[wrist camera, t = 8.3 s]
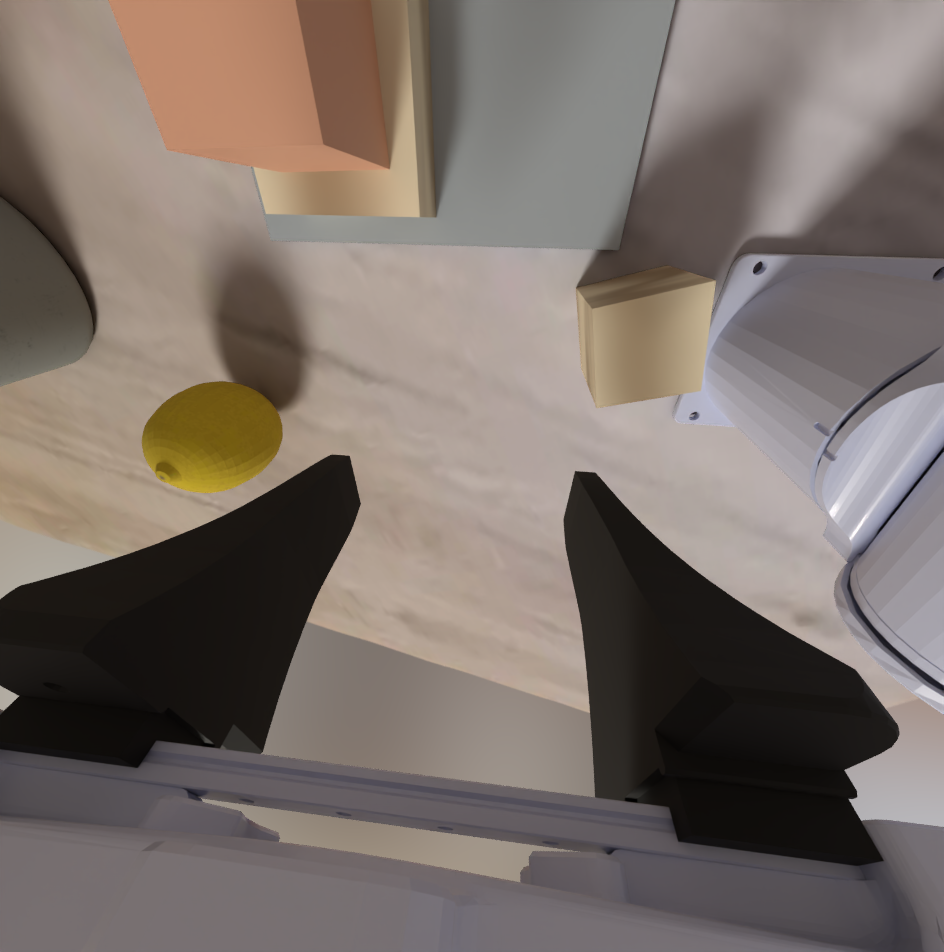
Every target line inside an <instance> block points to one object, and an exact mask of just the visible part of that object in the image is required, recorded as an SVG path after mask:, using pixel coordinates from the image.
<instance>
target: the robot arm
mask: <svg viewBox="0 0 944 952" xmlns="http://www.w3.org/2000/svg"><path fill="white" fill-rule="evenodd" d="M760 261H761V262H762V267H761V269H760V270H759V271H758V272H757V273H755V274H754V273H753V268H754V266H755V265H756V264H757V263H758V262H760ZM940 268H941V271H940V273H939V274H938V275H937V276H936V277H934V278H933V275H934V273H935V272H936V271H937V270H938V269H940ZM693 412H697V414H696V415H695V416H693V417H689V416H690V414H691V413H693ZM673 418H674V419H675V420H676V421H677V422H678V423H685V424H699V425H714V426H729V427H737V428H738V429H739V430H740V431H741V432H742V433H743V434H744V435H745V436H746V437H747V438H748V439H749V440H750V441H751V442H752V443H753V444H754V445H755V446H756V447H757V448H758V449H759V450H760V451H761V452H762V453H763V454H764V455H765V456H766V457H767V458H769V459H770V460H771V461H772V462H773V463H774V464H775V465H776V466H777V467H778V468H779V469H780V470H781V471H782V472H783V473H784V474H785V475H786V476H787V477H788V478H789V479H790V480H791V481H792V482H793V483H794V484H795V485H796V486H797V487H798V488H799V489H800V490H801V491H802V492H803V493H804V494H805V495H806V496H807V497H809V498H810V499H811V500H812V501H813V502H814V503H815V504H816V505H817V506H818V507H819V508H820V509H821V510H822V511H823V512H824V514H825V515H826V518H827V526H826V529H825V531H824V533H823V537H824V538H825V539H826V540H827V541H828V542H829V543H830V544H831V545H832V547H833V548H834V549H835V550H836V551H837V552H838V553H839V554H840V555H841V556H842V557H843V558H844V559H845V560H846V561H847V562H849V563H847V564H846V565H845V566H844V567H843V569H842V570H841V571H840V573H839V575H838V577H837V579H836V581H835V587H834V598H835V603H836V607H837V609H838V612H839V614H840V616H841V618H842V621H843V622H844V624H845V625H846V627H847V628H848V630H849V631H850V633H851V634H852V636H853V637H854V638H855V640H856V641H857V642H858V643H859V644H860V645H861V647H862V648H863V649H864V650H865V651H866V652H867V654H868V655H869V656H870V657H871V658H873V659H874V660H875V661H876V662H877V663H878V664H879V665H880V666H881V667H882V668H883V669H884V670H885V671H886V672H887V673H888V674H889V675H891V676H892V677H893V678H894V679H896V680H897V681H898V682H899V683H901V684H902V685H903V686H904V687H906V688H907V689H908V690H909V691H910V692H912V693H913V694H915V695H916V696H917V697H919V698H920V699H922V700H923V701H925V702H926V703H928V704H929V705H930V706H932V707H933V708H935V709H936V710H938V711H939V712H940V713H942V714H944V258H908V257H872V256H835V255H799V254H762V253H747V254H743V255H741V256H740V257H738V258H737V259H736V260H735V261H734V263H733V265H732V266H731V269H730V271H729V274H728V276H727V279H726V281H725V284H724V286H723V289H722V291H721V294H720V296H719V299H718V301H717V304H716V306H715V309H714V311H713V314H712V316H711V321H710V328H709V336H708V343H707V350H706V358H705V365H704V372H703V380H702V387H701V391H698V392H692V393H686V394H680V396H679V399H678V401H677V404H676V406H675V409H674V411H673ZM360 505H361V503H360V498H359V494H358V490H357V486H356V481H355V477H354V473H353V468H352V464H351V460H350V456H345V455H330V456H328V457H326V458H324V459H322V460H320V461H319V462H317V463H315V464H314V465H312V466H310V467H309V468H307V469H305V470H304V471H302V472H301V473H299V474H297V475H296V476H294V477H292V478H291V479H289V480H287V481H286V482H284V483H282V484H281V485H279V486H277V487H276V488H274V489H272V490H271V491H269V492H267V493H265V494H263V495H262V496H260V497H258V498H256V499H254V500H253V501H251V502H249V503H247V504H245V505H244V506H242V507H240V508H238V509H236V510H234V511H232V512H230V513H228V514H226V515H224V516H222V517H219V518H217V519H215V520H213V521H211V522H209V523H207V524H204V525H202V526H200V527H198V528H195V529H193V530H190V531H188V532H185V533H183V534H180V535H178V536H175V537H173V538H170V539H168V540H165V541H163V542H160V543H158V544H155V545H152V546H150V547H147V548H144V549H141V550H138V551H135V552H133V553H130V554H127V555H124V556H121V557H118V558H115V559H112V560H109V561H105V562H102V563H99V564H96V565H93V566H89V567H86V568H83V569H79V570H76V571H72V572H69V573H65V574H62V575H58V576H54V577H51V578H47V579H44V580H40V581H37V582H33V583H29V584H25V585H21V586H19V587H17V588H15V589H14V590H13V591H11V592H9V593H8V594H7V595H5V596H4V597H3V598H1V599H0V685H1V686H2V687H4V688H6V689H8V690H9V691H11V692H13V693H15V694H17V695H19V697H18V698H17V699H16V700H15V701H14V702H13V703H12V704H11V705H10V706H9V707H7V709H5V710H4V711H3V710H1V709H0V952H944V827H938V826H931V825H923V824H915V823H907V822H899V821H891V820H863V821H861V820H860V818H859V817H858V815H857V813H856V811H855V810H854V808H853V806H852V805H851V803H850V801H849V799H854V798H856V797H857V791H856V789H855V787H854V786H853V784H852V782H851V781H850V779H849V777H848V776H847V774H846V772H845V771H844V770H845V769H847V768H850V767H852V766H854V765H856V764H858V763H861V762H863V761H865V760H867V759H869V758H872V757H874V756H876V755H878V754H880V753H882V752H884V751H885V750H887V749H889V748H891V747H892V746H893V745H894V743H895V742H896V741H897V739H898V736H899V728H898V725H897V723H896V722H895V721H894V720H893V718H892V717H891V715H890V714H889V713H888V711H887V710H886V709H885V708H884V706H883V705H882V704H881V702H880V701H879V700H878V698H877V697H876V696H875V694H874V693H873V692H872V691H871V689H870V688H869V687H868V685H867V684H866V683H865V681H864V680H863V679H862V677H861V676H860V675H859V674H858V672H857V671H856V670H855V669H853V668H852V667H850V666H848V665H846V664H844V663H843V662H841V661H839V660H837V659H835V658H833V657H832V656H830V655H828V654H826V653H824V652H823V651H821V650H819V649H817V648H815V647H814V646H812V645H810V644H808V643H806V642H805V641H803V640H801V639H799V638H797V637H796V636H794V635H792V634H790V633H789V632H787V631H785V630H784V629H782V628H780V627H779V626H777V625H775V624H774V623H772V622H771V621H769V620H767V619H766V618H764V617H763V616H761V615H759V614H758V613H756V612H754V611H753V610H751V609H750V608H748V607H747V606H745V605H744V604H742V603H741V602H739V601H738V600H736V599H735V598H733V597H732V596H730V595H729V594H727V593H726V592H725V591H723V590H722V589H720V588H719V587H717V586H716V585H715V584H713V583H712V582H710V581H709V580H708V579H706V578H705V577H704V576H702V575H701V574H700V573H698V572H697V571H696V570H694V569H693V568H692V567H691V566H689V565H688V564H687V563H686V562H684V561H683V560H682V559H681V558H680V557H678V556H677V555H676V554H675V553H673V552H672V551H671V550H670V549H669V548H668V547H666V546H665V545H664V544H663V543H662V542H661V541H660V540H659V539H658V538H657V537H655V536H654V535H653V534H652V533H651V532H650V531H649V530H648V529H647V528H646V527H645V526H644V525H643V524H642V523H641V522H640V521H639V520H638V519H637V518H636V517H635V516H634V515H633V514H632V513H631V512H630V511H629V510H628V509H627V508H626V507H625V505H624V504H623V503H622V502H621V501H620V500H619V499H618V498H617V497H616V495H615V494H614V493H613V492H612V491H611V490H610V489H609V488H608V486H607V485H606V484H605V483H604V482H603V481H602V480H601V478H600V477H599V476H598V475H597V474H596V473H593V472H579V471H575V474H574V478H573V482H572V487H571V491H570V495H569V499H568V503H567V507H566V512H565V516H564V533H565V544H566V551H567V556H568V561H569V566H570V571H571V575H572V580H573V584H574V589H575V594H576V598H577V603H578V608H579V612H580V618H581V624H582V632H583V641H584V650H585V659H586V670H587V681H588V691H589V704H590V717H591V730H592V746H593V764H594V782H595V797H587V796H579V795H571V794H564V793H556V792H548V791H541V790H532V789H525V788H517V787H510V786H502V785H494V784H487V783H479V782H471V781H464V780H456V779H448V778H440V777H433V776H425V775H418V774H410V773H402V772H394V771H387V770H379V769H371V768H363V767H355V766H348V765H341V764H332V763H325V762H318V761H310V760H302V759H295V758H286V757H279V756H271V755H264V754H261V753H262V752H263V749H264V745H265V742H266V738H267V735H268V732H269V728H270V725H271V722H272V718H273V715H274V712H275V709H276V705H277V702H278V699H279V695H280V693H281V690H282V687H283V684H284V681H285V678H286V675H287V672H288V669H289V666H290V663H291V660H292V658H293V655H294V652H295V650H296V647H297V644H298V642H299V639H300V636H301V633H302V631H303V628H304V626H305V623H306V621H307V618H308V616H309V613H310V611H311V609H312V606H313V604H314V601H315V599H316V597H317V595H318V593H319V591H320V589H321V587H322V585H323V583H324V581H325V579H326V577H327V575H328V573H329V572H330V570H331V568H332V566H333V564H334V562H335V560H336V559H337V557H338V555H339V553H340V551H341V549H342V547H343V545H344V543H345V541H346V540H347V538H348V536H349V534H350V532H351V530H352V527H353V524H354V522H355V519H356V516H357V513H358V510H359V507H360ZM201 798H203V799H210V800H217V801H224V802H231V803H239V804H246V805H253V806H260V807H267V808H274V809H281V810H288V811H296V812H303V813H310V814H317V815H324V816H331V817H338V818H345V819H353V820H359V821H366V822H373V823H381V824H388V825H396V826H403V827H409V828H416V829H424V830H430V831H437V832H445V833H452V834H459V835H467V836H473V837H480V838H487V839H495V840H501V841H509V842H516V843H523V844H530V845H537V846H545V847H552V848H558V849H565V850H573V851H580V852H554V851H551V852H550V851H533V852H532V853H531V855H530V856H529V866H526V867H524V868H523V869H522V870H521V872H520V875H521V876H520V878H521V880H520V881H521V882H515V881H509V880H504V879H499V878H494V877H489V876H483V875H478V874H473V873H467V872H463V871H458V870H452V869H447V868H442V867H435V866H430V865H425V864H420V863H414V862H409V861H403V860H397V859H391V858H384V857H379V856H373V855H367V854H361V853H355V852H348V851H340V850H334V849H327V848H321V847H314V846H307V845H299V844H291V843H283V842H279V839H280V837H279V833H278V832H275V831H273V830H270V829H267V828H265V827H263V826H260V825H258V824H256V823H255V822H253V821H251V820H249V819H247V818H246V817H245V816H244V815H243V813H242V812H241V811H238V810H233V809H229V808H225V807H221V806H217V805H212V804H208V803H205V802H202V799H201Z"/></svg>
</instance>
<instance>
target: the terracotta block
mask: <svg viewBox="0 0 944 952" xmlns="http://www.w3.org/2000/svg"><path fill="white" fill-rule="evenodd" d="M108 1H109V3H110V6H111V8H112V11H113V13H114V16H115V18H116V21H117V23H118V26H119V29H120V31H121V34H122V36H123V39H124V41H125V44H126V46H127V49H128V52H129V54H130V57H131V59H132V62H133V64H134V67H135V69H136V72H137V74H138V77H139V80H140V82H141V85H142V87H143V90H144V92H145V95H146V97H147V100H148V103H149V105H150V108H151V110H152V113H153V115H154V118H155V120H156V123H157V126H158V128H159V131H160V133H161V136H162V138H163V141H164V143H165V146H166V148H167V150H169V151H174V152H179V153H184V154H190V155H195V156H200V157H205V158H210V159H215V160H220V161H225V162H231V163H236V164H241V165H246V166H251V167H256V168H261V169H267V170H272V171H277V172H317V171H352V170H388V169H390V166H389V157H388V148H387V139H386V130H385V122H384V113H383V104H382V95H381V86H380V78H379V69H378V60H377V51H376V42H375V34H374V25H373V16H372V7H371V0H108Z"/></svg>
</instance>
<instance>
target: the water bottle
mask: <svg viewBox="0 0 944 952" xmlns="http://www.w3.org/2000/svg"><path fill="white" fill-rule="evenodd" d="M92 338H93V322H92V316H91V312H90V309H89V306H88V303H87V300H86V297H85V295H84V293H83V291H82V289H81V287H80V285H79V284H78V282H77V280H76V278H75V276H74V275H73V273H72V272H71V270H70V269H69V267H68V266H67V264H66V263H65V261H64V260H63V258H62V257H61V256H60V255H59V253H58V252H57V251H56V250H55V248H54V247H53V246H52V245H51V244H50V242H49V241H48V240H47V239H46V238H45V237H44V236H43V235H42V234H41V233H40V231H39V230H38V229H37V228H36V227H35V226H34V225H33V224H32V223H31V222H30V221H29V220H28V219H27V218H25V217H24V216H23V215H22V214H21V213H20V212H18V211H17V210H16V209H15V208H14V207H12V206H11V205H10V204H9V203H8V202H7V201H5V200H4V199H2V198H1V197H0V386H3V385H6V384H10V383H13V382H16V381H19V380H22V379H25V378H28V377H32V376H35V375H38V374H41V373H44V372H47V371H50V370H53V369H57V368H60V367H63V366H66V365H69V364H71V363H74V362H76V361H77V360H79V359H80V358H81V357H82V356H83V355H84V354H85V353H86V352H87V350H88V348H89V346H90V344H91V341H92Z"/></svg>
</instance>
